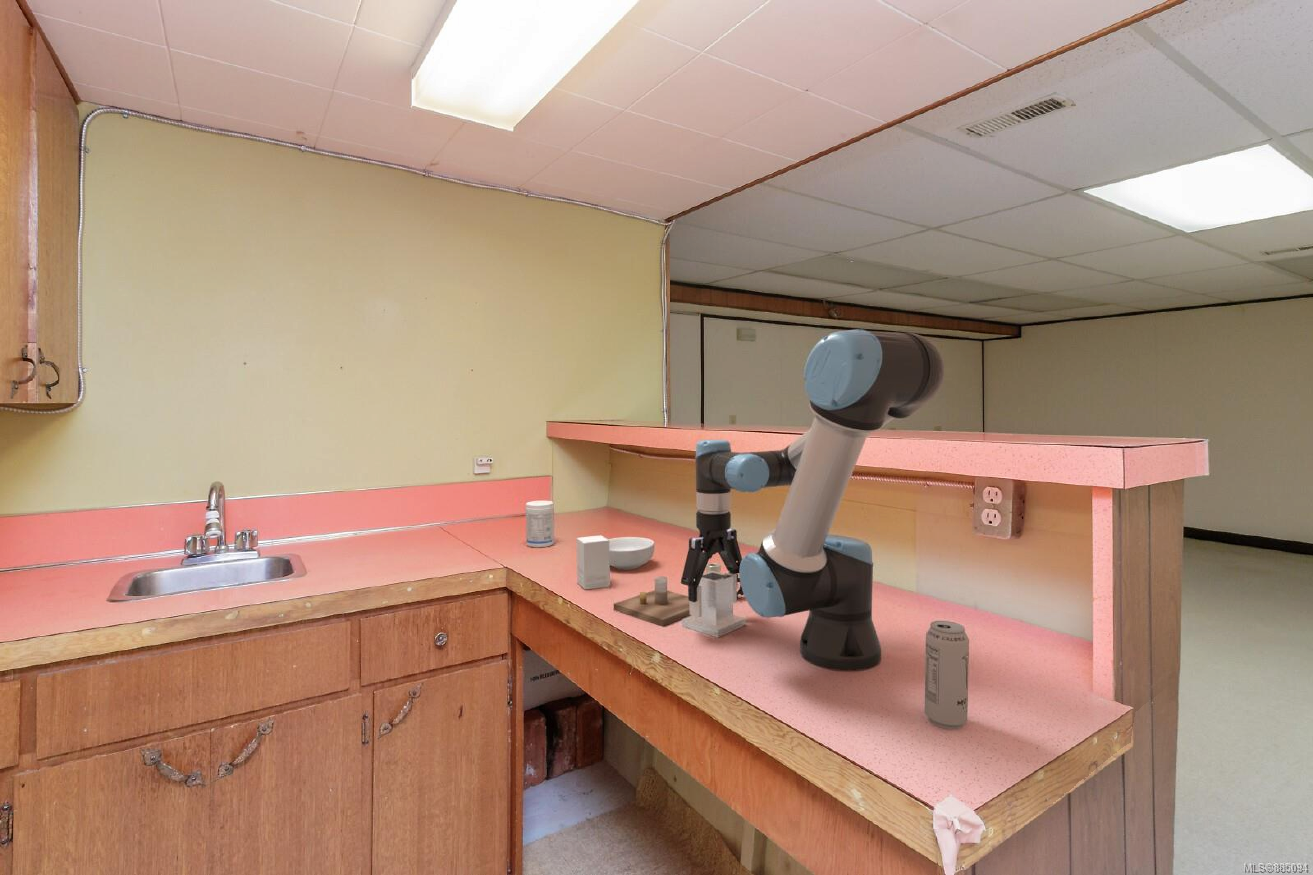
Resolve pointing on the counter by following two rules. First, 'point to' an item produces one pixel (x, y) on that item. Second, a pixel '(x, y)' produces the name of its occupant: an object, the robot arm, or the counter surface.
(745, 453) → the robot arm
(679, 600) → the base board
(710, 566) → the valve
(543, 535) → the supplement tub
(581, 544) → the supplement box
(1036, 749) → the counter surface
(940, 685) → the energy drink can
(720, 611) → the white hollow block
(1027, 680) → the counter surface
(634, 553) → the cereal bowl
